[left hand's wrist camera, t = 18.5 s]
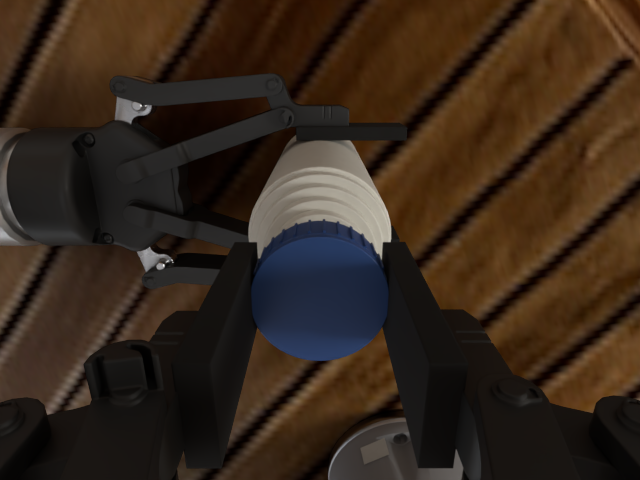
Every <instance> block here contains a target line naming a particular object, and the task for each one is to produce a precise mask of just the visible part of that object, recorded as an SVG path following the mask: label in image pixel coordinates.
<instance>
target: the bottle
mask: <svg viewBox="0 0 640 480" xmlns="http://www.w3.org/2000/svg"><path fill="white" fill-rule="evenodd" d="M323 219H325V221H331V222H337V221H339V223H340V224H342V225H345V226H347V227H350V226H352V227H353V230H355V231H357V232H358V233H360V234H362V233H363V234H364V237H365V238H366V239H367V240H368V241H369V243H373V245H374V248H375V251H376V253H377V254H378V253H379V254H380V257H381V260H382V245H383V242H391V224H390V219H389V215H388V212H387V210H386V207H385V205H384V203H383V201H382V199H381V197H380V195H379V193H378V191H377V189H376V187H375V186H374V184H373V182H372V180H371V178H370V176H369V174H368V172H367V170H366V168H365V166H364V164H363V162H362V161H361V159H360V157H359V155H358V153H357V151H356V149H355V147H354V146H353V144H352V143H351V141H350V140H318V141H296V135H295V136H294V137H293V138H292V139H291V140H290V141H289V142H288V144H287V145H286V147H285V149H284V150H283V152H282V154H281V156H280V158H279V160H278V162H277V164H276V166H275V168H274V170H273V172H272V174H271V175H270V177H269V179H268V181H267V183H266V185H265V187H264V189H263V191H262V193H261V195H260V197H259V198H258V200H257V202H256V204H255V207H254V209H253V211H252V214H251V217H250V222H249V232H248V238H249V242H257V250H258V258H260V257H261V254H262V251H263V248H264V247H267V246H268V244H269V243H270V242H271V239H272V237H274V238H275V237H276V236H277V235H279V234H280V233H281V232H282V230H283V229H285V230H286V229H288V228H290V227H292V226H294V225H295V223H297V224H300V223H304V222H308V220H311V221H323Z"/></svg>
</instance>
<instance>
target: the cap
mask: <svg viewBox="0 0 640 480" xmlns="http://www.w3.org/2000/svg"><path fill="white" fill-rule="evenodd" d="M253 275H254V278H253V282H252V285H251V299H252V314H253V319H254V321H255V323H256V325H257V327H258V328H259V330H260V331H261V333H262V334H263V335H264V337H265V338H266V339H267V340H268V341H269V342H270V343H272V344H273V345H274V346H275V347H277V348H278V349H280V350H281V351H283V352H285V353H287V354H289V355H292V356H294V357H298V358H301V359H306V360H315V361H325V360H333V359H338V358H342V357H345V356H348V355H350V354H352V353H355V352H356V351H358V350H360V349H362V348H363V347H364V346H366V345H367V344H368V343H369V342H370V341H371V340H372V339H373V338H374V337H375V336H376V335H377V334H378V332H379V331H380V329H381V328H382V326H383V324H384V322H385V320H386V317H387V310H388V295H389V287H388V283H387V278H386V275H385V272H384V266H383V263H382V260H381V257H380V254H379V253H378V254H377V253H376V251H375V248H374V245H373V243H369V241H368V240H367V239H366V238H365V237H364V234H363V233H362V234H360V233H358V232H357V231H355V230H353V227H352V226H350V227H347V226H345V225H342V224H340V223H339V221H337V222H331V221H325V219H323V221H311V220H308V222H304V223H300V224H297V223H295V225H294V226H292V227H290V228H288V229H286V230H285V229H283V230H282V232H281V233H280V234H279V235H277V236H276V237H275V238H274V237H272V239H271V242H270V243H269V244H268V246H267V247H264V248H263V251H262V254H261V257H260V258H258V261H257V264H256V266H255V269H254V272H253Z"/></svg>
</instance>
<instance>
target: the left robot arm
mask: <svg viewBox="0 0 640 480" xmlns="http://www.w3.org/2000/svg"><path fill="white" fill-rule="evenodd" d="M257 261H258V250H257V242H234V244H233V246H232V248H231V250H230V252H229V254H228V256H227V258H226V260H225V262H224V263H223V265H222V267H221V269H220V271H219V273H218V275H217V277H216V279H215V281H214V282H213V284H212V286H211V288H210V290H209V292H208V294H207V296H206V298H205V300H204V302H203V303H202V305H201V307H200V309H199V311H176V312H175V313H173V314H172V315H170V316H169V317H168V318H166V319H165V320H163V321H162V323H161V324H160V326H159V327H158V329H157V331H156V332H155V335H153V337H152V338H151V340H150V341H149V342H148V341H144V340H126V341H121V342H116V343H113V344H111V345H108V346H106V347H103V348H101V349H99V350H98V351H97V352H95V353H94V354H92V355H91V356H90V357H89V358H88V359H87V360H86V362H85V363H84V369H85V373H86V377H87V381H88V385H89V390H90V394H91V398H92V401H91V403H90V405H87V406H84V407H81V408H77V409H72V410H68V411H63V412H59V413H54V414H50V415H47V413H46V410H45V406H44V404H42V403H41V402H40V401H39V400H38V399H33V398H27V397H26V398H17V399H11V400H8V401H4V402H1V403H0V480H179V479H178V472H177V467H178V465H179V462H180V459H181V456H182V454H183V451H184V454H185V461H186V468H222V465H223V461H224V457H225V453H226V449H227V445H228V441H229V437H230V433H231V429H232V425H233V421H234V417H235V413H236V409H237V405H238V402H239V398H240V394H241V390H242V386H243V382H244V378H245V374H246V370H247V366H248V362H249V358H250V354H251V350H252V346H253V342H254V338H255V334H256V330H257V325H256V323H255V321H254V319H253V314H252V299H251V285H252V282H253V278H254V275H253V272H254V269H255V266H256V264H257ZM382 263H383V266H384V272H385V275H386V278H387V283H388V287H389V295H388V310H387V317H386V320H385V322H384V324H383V326H382V327H383V331H384V335H385V339H386V343H387V347H388V351H389V355H390V359H391V363H392V367H393V371H394V375H395V379H396V383H397V387H398V391H399V395H400V399H401V403H402V407H403V410H404V411H394V412H387V413H383V414H379V415H376V416H373V417H370V418H368V419H365V420H363V421H361V422H359V423H358V424H356V425H355V426H353V427H352V428H350V429H349V430H348V431H347V432H346V433H344V434H343V435H342V437H341V438H340V439H339V440H338V441H337V443H336V444H335V446H334V448H333V450H332V452H331V454H330V458H329V462H328V480H640V401H639V400H636V399H632V398H629V397H622V396H608V397H603V398H601V399H600V400H599V401H598V402H597V403H596V405H595V409H594V412H593V413H589V412H585V411H580V410H576V409H571V408H566V407H562V406H559V405H555V404H552V403H549V400H548V398H547V397H546V395H545V394H544V393H543V391H542V390H541V389H540V388H538V387H537V386H536V385H535V384H533V383H532V382H530V381H528V380H526V379H524V378H522V377H520V376H516V375H513V373H512V372H511V370H510V369H509V367H508V366H507V364H506V363H505V361H504V360H503V358H502V357H501V355H500V354H499V352H498V351H497V349H496V347H495V346H494V344H493V343H491V340H490V338H489V337H488V335H487V334H486V333H485V331H484V329H483V328H482V326H481V325H480V323H479V322H478V320H477V319H476V318H474V317H473V316H471V315H470V314H469V313H467V312H466V311H464V310H440V308H439V306H438V304H437V302H436V300H435V298H434V296H433V294H432V293H431V291H430V289H429V287H428V285H427V283H426V281H425V279H424V277H423V275H422V273H421V272H420V270H419V268H418V266H417V264H416V262H415V260H414V258H413V256H412V254H411V253H410V251H409V249H408V247H407V245H406V243H405V242H383V245H382Z"/></svg>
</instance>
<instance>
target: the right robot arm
mask: <svg viewBox="0 0 640 480" xmlns="http://www.w3.org/2000/svg"><path fill="white" fill-rule="evenodd" d="M110 89H111V92H112V93H113V94H114V95H115V96H117V102H116V112H115V120H113V121H110V122H108V123H107V124H105V125H103V126H102V127H87V128H35V129H32V130H30V129H27V128H0V245H3V246H34V245H40V244H45V245H109V244H114V245H119V246H122V247H124V248H127V249H129V250H131V251H137V253H138V255H139V257H140V259H141V262H142V264H143V266H144V268H145V270H146V273H145V274H144V276H143V277H142V282H143V284H144V286H146V287H147V288H150V289H155V288H159V287H163V286H167V285H170V284H174V283H189V284H203V285H212V284H213V282H214V281H215V279H216V277H217V275H218V273H219V271H220V269H221V267H222V265H223V263H224V262H225V260H226V258H227V255H213V254H199V253H182V254H177V255H176V252H175V251H174V250H172V249H161V248H159V247H158V246H157V245H156V244H155V243H156V242H157V241H158V240H160V239H161V238H162V237H164V236H165V235H166V234H168V233H169V234H172V235H175V236H179V237H182V238H186V239H191V238H197V239H200V240H204V241H207V242H210V243H214V244H217V245H220V246H224V247H227V248H230V249H231V248H232V246H233V244H234V242H249V238H248V232H249V223H248V222H245V221H242V220H238V219H235V218H232V217H229V216H225V215H222V214H219V213H215V212H212V211H209V210H208V209H207V208H206V207H204V206H201V205H198V204H195V203H192V196H191V193H190V190H189V188H188V185H187V180H188V173H189V170H188V162H191V161H193V160H196V159H199V158H202V157H205V156H207V155H210V154H213V153H216V152H219V151H222V150H225V149H228V148H230V147H233V146H236V145H239V144H242V143H245V142H248V141H251V140H253V139H256V138H259V137H262V136H265V135H268V134H271V133H273V132H276V131H279V130H282V129H285V128H287V129H288V128H289V127H296V141H318V140H406V137H407V127H406V126H404V125H402V124H400V123H349V109H348V108H346V107H344V106H341V105H300V104H297V103H295V102H294V101H293V100H292V99H291V97H290V95H289V92H288V89H287V87H286V83H285V80H284V78H283V77H282V76H280V75H278V74H271V73H270V74H259V75H248V76H237V77H226V78H215V79H204V80H193V81H182V82H171V83H160V82H156V81H153V80H149V79H146V78H142V77H139V76H115V77H113V78H112V79H111V81H110ZM255 97H267V99H268V102H269V104H270V107H271V110H269V111H266V112H263V113H260V114H257V115H254V116H252V117H249V118H246V119H243V120H240V121H238V122H235V123H232V124H229V125H226V126H224V127H221V128H218V129H215V130H212V131H209V132H207V133H204V134H201V135H198V136H195V137H192V138H189V139H186V140H184V141H181V142H178V143H175V144H172V145H169V144H168V143H166V142H165V141H164V140H162V139H161V138H159V137H158V136H156V135H155V134H153V133H152V132H150V131H149V130H147V129H146V128H144V127H143V126H141V125H140V124H138V123H137V121H138V119H139V117H140V116H145V115H150V114H153V113H154V112H155V111H156V109H157V106H165V105H176V104H188V103H199V102H210V101H221V100H232V99H244V98H255ZM391 242H399V237H398V235H397V233H396V231H395V229H394V227H393V226H391Z"/></svg>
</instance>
